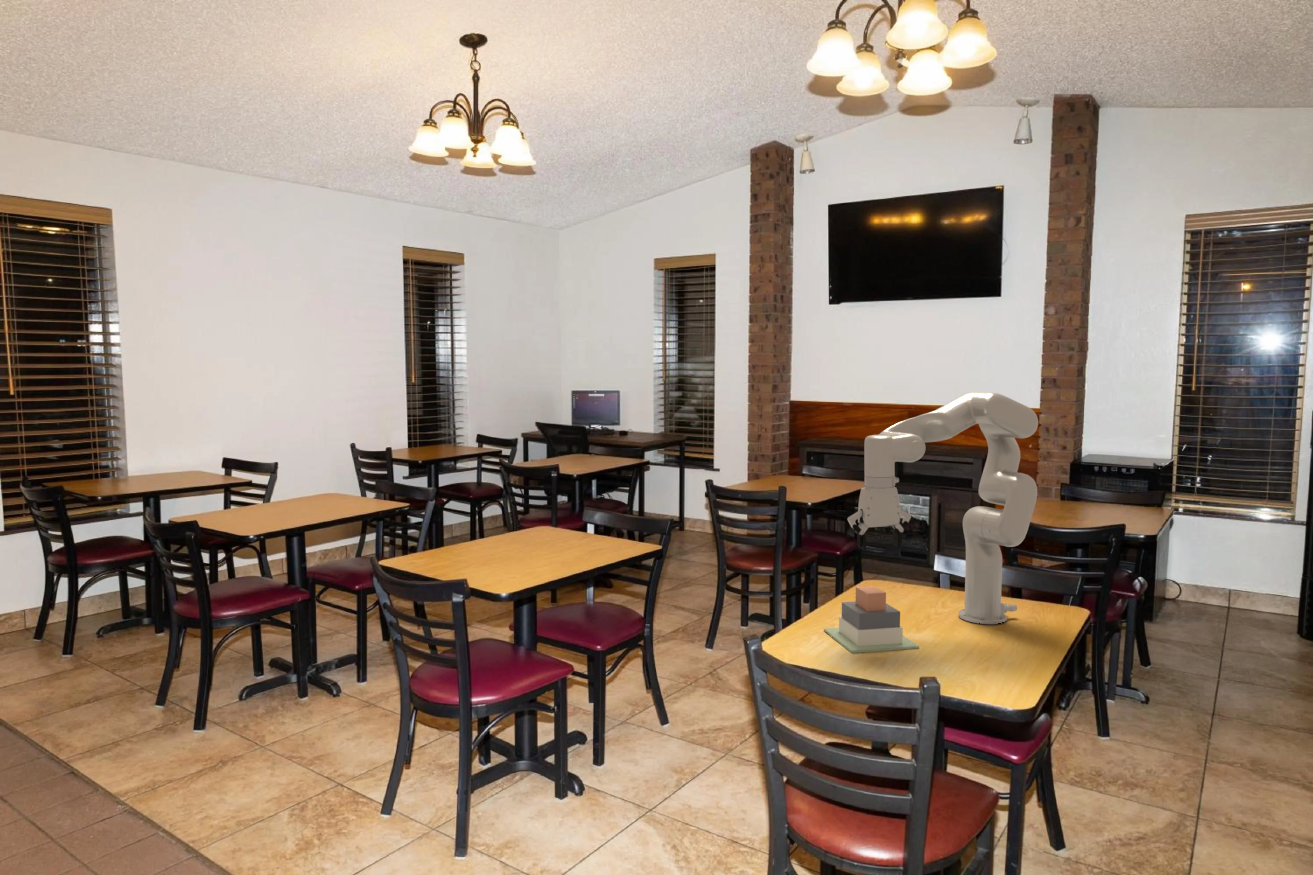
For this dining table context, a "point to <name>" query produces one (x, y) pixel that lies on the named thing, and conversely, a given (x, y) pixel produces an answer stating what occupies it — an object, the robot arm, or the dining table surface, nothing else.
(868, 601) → the terracotta brick
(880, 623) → the stepped block pyramid
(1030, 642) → the dining table surface
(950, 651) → the dining table surface
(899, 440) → the robot arm
